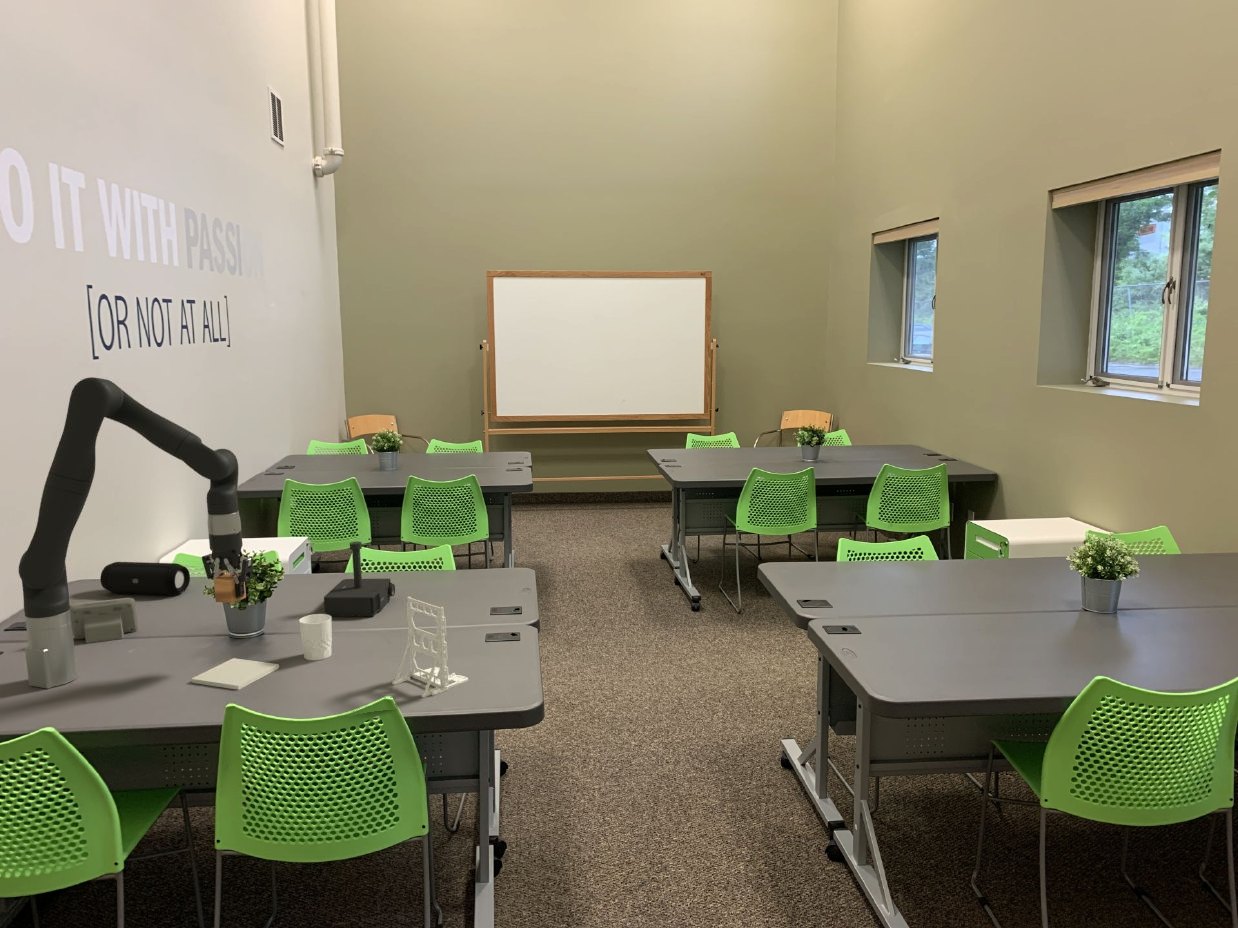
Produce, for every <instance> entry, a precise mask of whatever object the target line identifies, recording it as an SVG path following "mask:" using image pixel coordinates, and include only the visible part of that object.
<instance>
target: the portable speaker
mask: <svg viewBox="0 0 1238 928" xmlns="http://www.w3.org/2000/svg"><path fill="white" fill-rule="evenodd" d="M190 582H191V575H190V571H189V569H188V568H187V567H186V566H184V565H182V564H179V563H175V562H173V563H172V562H171V563H170V562H140V561H139V562H138V561H137V562H136V561H115V562H111V563H109V564H107V565H105V566H104V568H102V570H101V574H100V584H101V587H102V588H103V589H104V590H106V591H108V592H110V593H113V594H123V595H124V594H128V595H129V594H131V595H152V596H154V595H156V596H157V595H158V596H176V595H178V594H181V593H184V592H185V591H186V590H187V589H188V587H189V585H190Z"/></svg>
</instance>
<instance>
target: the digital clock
mask: <svg viewBox="0 0 1238 928" xmlns="http://www.w3.org/2000/svg"><path fill="white" fill-rule="evenodd" d="M135 600H136V599H134V598H132V597H124V598H115V599H106V600H105V599H104V600H98V601H97V600H96V601H90V602H89V601H88V602H81V603H74V604H71V605H70V604H69V605H70V614H71V623H72V632H73V638H74V639H85V644H92V643H93V642H94V643H99V642H100V641H101V642H107V641H114V640H122V639H124V635H125V634H126V633H132V632H136V631H137V630H138V629H139V619H138V613H137V607H136V601H135Z"/></svg>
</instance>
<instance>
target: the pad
mask: <svg viewBox="0 0 1238 928" xmlns="http://www.w3.org/2000/svg"><path fill="white" fill-rule="evenodd" d="M279 669H280V665H279V664H278V663H271V662H262V661H259V660H257V661H256V660H249V659H243V658H242V659H241V658H236V657H233V658H231V659H229V660H227V661H225V662H222V663H220V664H218V665H216V666H215V667H212V668H210V669H209V670H206V671H204V672H202V673H200V674H199V675H198V674H197V675H196V676H194V677H192V678H191V683H192V684H199V685H203V686H204V685H205V686H210V687H217V688H225V689H232V690H242V689H243V688H245V687H246V686H249V685H250V684H252V683H254V682H256V681H257V680H259V679H261V678H263V677H265V676H267V675H269V674H271V673H273V672H275V671H276V670H279Z"/></svg>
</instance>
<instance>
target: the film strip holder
mask: <svg viewBox="0 0 1238 928" xmlns="http://www.w3.org/2000/svg"><path fill="white" fill-rule="evenodd" d="M406 598H407V599H406V600H407V601H406V602H407V605H406V614H407V617H406V618H407V624H408V625H407V626H408V630H407V633H408V634H407V636H406V639H407V644H406V646H405V650H404V653H403V654H402V658H401V661H400V664H399V667H398V669H397V673H396V676H395V679H392V681H391V684H392V685H393V686H395V685H399V684H400V683H401V684H402V683H404V682H406V681H410V680H411V678H414V679H416V680H419V681H421V682H423V683H425V684H426V686H425V688H424V692H421V693H420V697H421V698H427V697H429V696H432V697H433V696H436V695H440V694H442V693H444V692H448V690H449V689H451V688H454V687H456V686H458V685H459V686H460V685H462V684H464V683H467V682H469V677H467V676H464V675H460V674H456V673H455V672H453V673H451V674H450V672H449V667H448V666H447V662H448V660H449V658H448V643H447V641H446V637H447V622H446V621H447V619H446V617H445V613H444V612H445V611H444V610H445V609H444V607H443V606H441V607H440V606H437V605H433V604H430V603H427V602H424V601H421V600H418V599H415V598H413V597H411V596H407V597H406ZM413 605H416V606H415V607H413ZM419 606H420V607H422V610H421V609H419ZM426 609H429V612H427V611H426ZM433 611H435V612H436V615H435V614H434V613H433ZM415 612H416V613H419V614H422V615H425V616H427V617H428V616H429V617H431V618H434V620H435V625H436V627H437V630H436V633H435V634H434V633H431V632H429V631H426V630H423V629H421V628H417V627H416V625H415V622H414V619H413V617H414V614H415ZM416 636H418V638H419V640H418V642H419V643H416V638H415V637H416ZM424 639H427V647H425V643H424ZM433 642H435V643H436V645H437V646H436V647H435V648H436V651H435V650H434V646H433ZM408 649H409V654H408V655H409V670H410V672H409V673H403V674H402V675H400V674H401V673H402V669H403V667H404V663H405V661H406V660H405V659H406V658H407V653H408ZM417 652H418V653H420V654H423V655H425V656H428V657H430V658H433V659H434V662H433V665H432V667H429V668H426V669H422V668H420V667H418V665H417V661H416V659H415V658H416V654H417ZM436 664H437V665H438V667H437V666H436ZM416 671H417V672H416ZM424 675H425V677H424ZM451 681H453V683H449V682H451ZM430 686H432V687H434V688H430Z"/></svg>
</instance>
